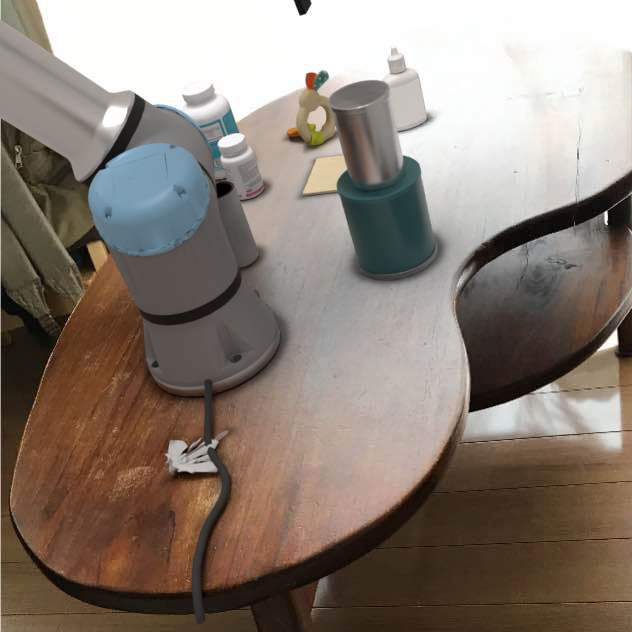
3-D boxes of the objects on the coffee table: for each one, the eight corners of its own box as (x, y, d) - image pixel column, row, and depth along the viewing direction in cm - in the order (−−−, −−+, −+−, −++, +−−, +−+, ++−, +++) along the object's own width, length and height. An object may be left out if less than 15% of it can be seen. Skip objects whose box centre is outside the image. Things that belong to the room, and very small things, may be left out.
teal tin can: (433, 276, 102) (415, 194, 95) (350, 283, 104) (327, 204, 97) (441, 228, 109) (426, 149, 102) (364, 236, 112) (344, 159, 105)
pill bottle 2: (267, 181, 129) (250, 129, 124) (261, 198, 126) (243, 145, 120) (237, 186, 130) (218, 134, 125) (230, 202, 127) (211, 150, 121)
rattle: (327, 120, 141) (308, 51, 133) (347, 136, 134) (329, 65, 127) (285, 137, 139) (264, 68, 132) (303, 155, 133) (282, 83, 126)
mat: (371, 188, 121) (370, 185, 120) (303, 196, 123) (302, 193, 123) (382, 152, 128) (381, 150, 128) (317, 160, 131) (316, 158, 130)
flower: (208, 425, 92) (203, 404, 91) (256, 455, 87) (251, 433, 86) (148, 462, 88) (141, 441, 87) (194, 496, 83) (188, 474, 82)
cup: (403, 188, 96) (384, 104, 90) (344, 195, 98) (321, 113, 92) (410, 157, 101) (393, 75, 95) (354, 164, 103) (334, 84, 97)
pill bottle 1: (229, 153, 139) (201, 72, 131) (259, 161, 135) (231, 78, 126) (194, 176, 136) (162, 95, 128) (223, 185, 131) (192, 102, 123)
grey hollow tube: (253, 267, 112) (227, 198, 105) (221, 269, 113) (193, 201, 107) (263, 247, 115) (238, 178, 109) (231, 249, 117) (205, 182, 110)
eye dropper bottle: (425, 128, 131) (410, 50, 123) (389, 133, 132) (372, 56, 125) (428, 114, 134) (414, 38, 126) (393, 119, 135) (376, 44, 128)
